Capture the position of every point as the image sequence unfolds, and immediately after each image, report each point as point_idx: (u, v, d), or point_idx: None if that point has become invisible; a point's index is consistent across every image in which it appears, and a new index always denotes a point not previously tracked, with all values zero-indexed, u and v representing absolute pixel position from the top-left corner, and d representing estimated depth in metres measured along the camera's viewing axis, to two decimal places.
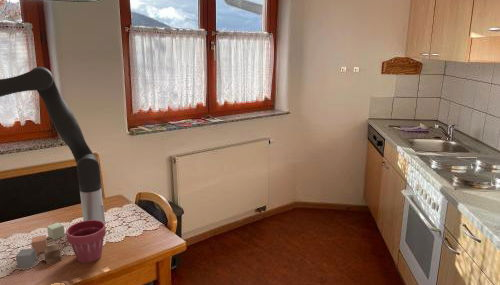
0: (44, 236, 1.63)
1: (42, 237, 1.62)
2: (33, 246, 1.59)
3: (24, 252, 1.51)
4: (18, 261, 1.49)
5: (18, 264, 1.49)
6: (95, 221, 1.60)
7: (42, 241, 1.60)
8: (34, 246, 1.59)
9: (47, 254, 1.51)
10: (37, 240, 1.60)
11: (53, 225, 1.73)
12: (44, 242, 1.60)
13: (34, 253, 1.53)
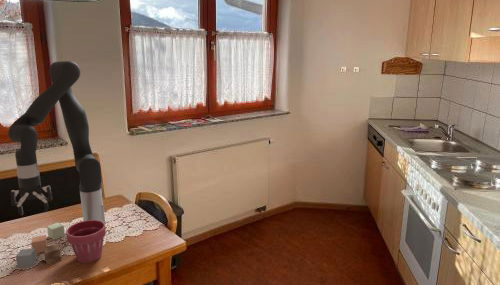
0: (44, 236, 1.63)
1: (42, 237, 1.62)
2: (33, 246, 1.59)
3: (24, 252, 1.51)
4: (18, 261, 1.49)
5: (18, 264, 1.49)
6: (95, 221, 1.60)
7: (42, 241, 1.60)
8: (34, 246, 1.59)
9: (47, 254, 1.51)
10: (37, 240, 1.60)
11: (53, 225, 1.73)
12: (44, 242, 1.60)
13: (34, 253, 1.53)
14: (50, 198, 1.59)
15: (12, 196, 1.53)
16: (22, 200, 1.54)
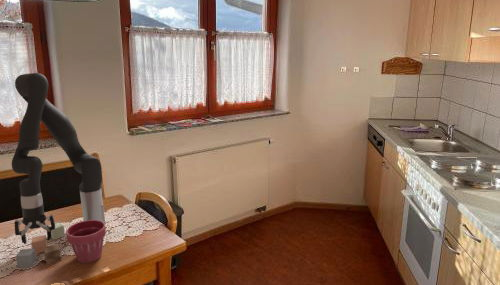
0: (44, 236, 1.63)
1: (42, 237, 1.62)
2: (33, 246, 1.59)
3: (24, 252, 1.51)
4: (18, 261, 1.49)
5: (18, 264, 1.49)
6: (95, 221, 1.60)
7: (42, 241, 1.60)
8: (34, 246, 1.59)
9: (47, 254, 1.51)
10: (37, 240, 1.60)
11: None
12: (44, 242, 1.60)
13: (34, 253, 1.53)
14: (53, 227, 1.62)
15: (16, 226, 1.56)
16: (26, 229, 1.57)
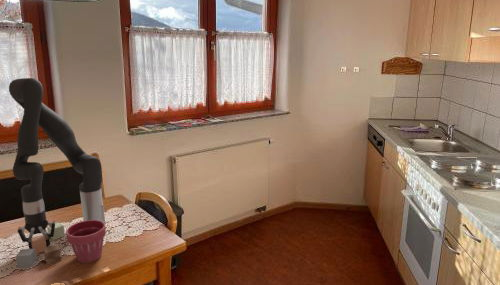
0: None
1: (42, 237, 1.62)
2: (33, 246, 1.59)
3: (24, 252, 1.51)
4: (18, 261, 1.49)
5: (18, 264, 1.49)
6: (95, 221, 1.60)
7: (42, 241, 1.60)
8: (34, 246, 1.59)
9: (47, 254, 1.51)
10: (37, 240, 1.60)
11: None
12: (44, 242, 1.60)
13: (34, 253, 1.53)
14: (51, 234, 1.62)
15: (20, 233, 1.57)
16: (30, 236, 1.58)
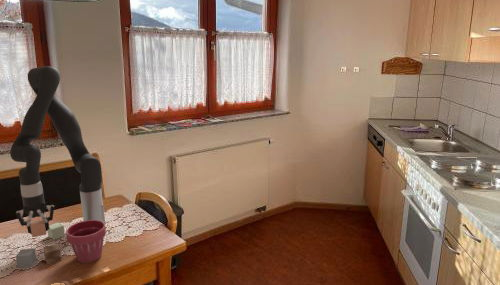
0: None
1: (41, 220, 1.61)
2: (32, 229, 1.57)
3: (24, 252, 1.51)
4: (18, 261, 1.49)
5: (18, 264, 1.49)
6: (95, 221, 1.60)
7: (41, 224, 1.58)
8: (33, 229, 1.57)
9: (47, 254, 1.51)
10: (36, 223, 1.58)
11: (53, 225, 1.73)
12: (43, 225, 1.59)
13: (34, 253, 1.53)
14: (51, 218, 1.60)
15: (18, 217, 1.55)
16: (29, 219, 1.56)
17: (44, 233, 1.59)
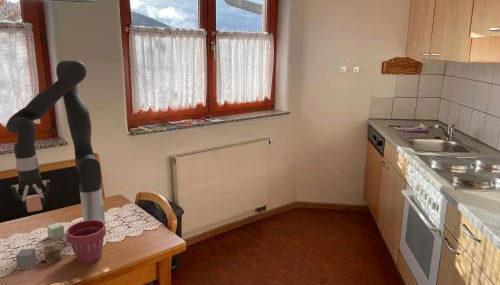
0: (39, 195, 1.60)
1: (37, 196, 1.59)
2: (28, 204, 1.56)
3: (24, 252, 1.51)
4: (18, 261, 1.49)
5: (18, 264, 1.49)
6: (95, 221, 1.60)
7: (37, 199, 1.57)
8: (29, 204, 1.56)
9: (47, 254, 1.51)
10: (32, 198, 1.57)
11: (53, 225, 1.73)
12: (39, 200, 1.57)
13: (34, 253, 1.53)
14: (46, 193, 1.59)
15: (14, 191, 1.54)
16: (25, 193, 1.55)
17: (40, 208, 1.58)
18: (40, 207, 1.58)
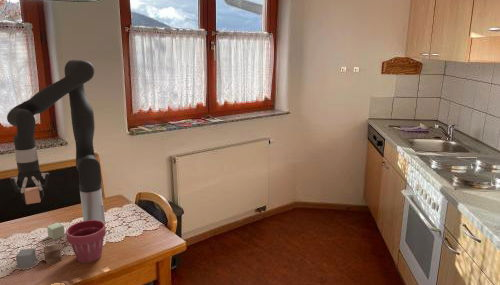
0: (37, 187, 1.60)
1: (35, 188, 1.59)
2: (26, 196, 1.56)
3: (24, 252, 1.51)
4: (18, 261, 1.49)
5: (18, 264, 1.49)
6: (95, 221, 1.60)
7: (35, 191, 1.57)
8: (27, 196, 1.56)
9: (47, 254, 1.51)
10: (30, 190, 1.57)
11: (53, 225, 1.73)
12: (37, 192, 1.57)
13: (34, 253, 1.53)
14: (45, 185, 1.59)
15: (13, 183, 1.54)
16: (23, 185, 1.55)
17: (38, 201, 1.58)
18: (38, 199, 1.58)
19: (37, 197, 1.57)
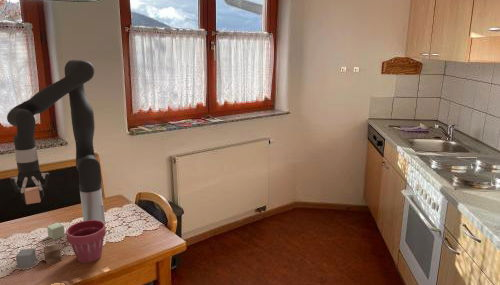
0: (37, 187, 1.60)
1: (35, 188, 1.59)
2: (26, 196, 1.56)
3: (24, 252, 1.51)
4: (18, 261, 1.49)
5: (18, 264, 1.49)
6: (95, 221, 1.60)
7: (35, 191, 1.57)
8: (27, 196, 1.56)
9: (47, 254, 1.51)
10: (30, 190, 1.57)
11: (53, 225, 1.73)
12: (37, 192, 1.57)
13: (34, 253, 1.53)
14: (45, 185, 1.59)
15: (13, 183, 1.54)
16: (23, 185, 1.55)
17: (38, 201, 1.58)
18: (38, 199, 1.58)
19: (37, 197, 1.57)
